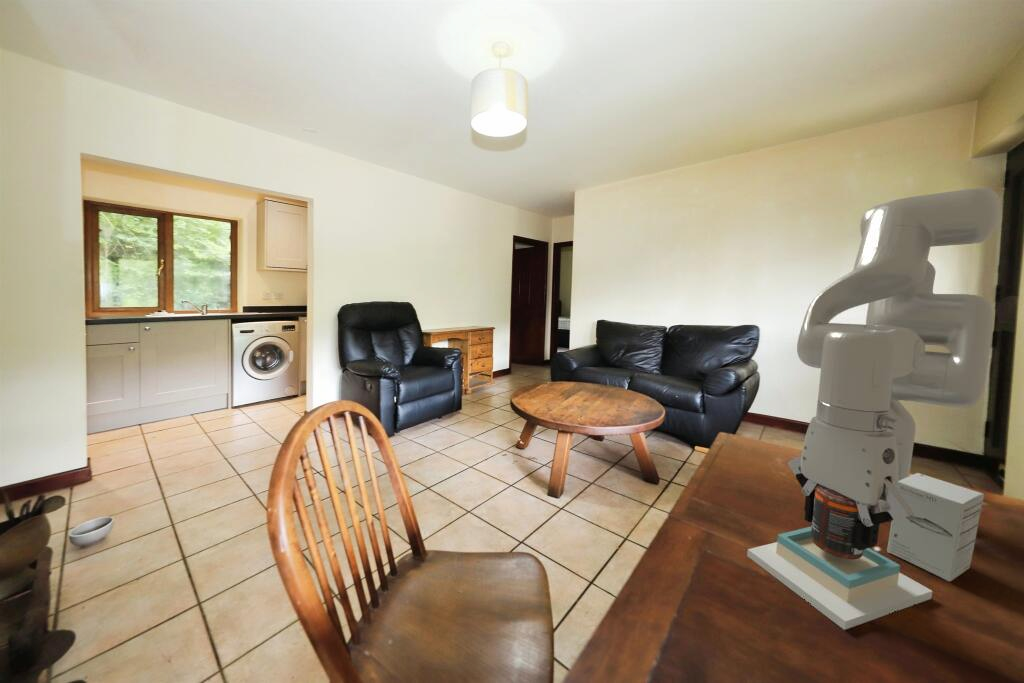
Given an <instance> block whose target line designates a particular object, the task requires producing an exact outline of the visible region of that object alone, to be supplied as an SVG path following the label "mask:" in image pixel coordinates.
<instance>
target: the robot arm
mask: <svg viewBox="0 0 1024 683" xmlns="http://www.w3.org/2000/svg"><path fill="white" fill-rule="evenodd" d="M1001 206H1002V205H1001V199H1000V196H999V194H998V192H997V191H995V189H993V188H987V187H985V188H984V187H981V188H979V187H978V188H977V187H976V188H966V189H960V190H959V189H958V190H953V191H947V192H946V191H945V192H938V193H931V194H924V195H923V194H922V195H916V196H907V197H903V198H898V199H895V200H891V201H888V202H885V203H880V204H878V205H875V206H873V207H871V208H869V209H867V211H865V212H864V214H863V215H862V217H861V220H860V226H859V227H860V238H861V241H860V244H859V248H858V251H857V255H856V258H855V261H854V262H855V263H854V266H853V269H852V271H850V272H848V273H846V274H845V275H843V276H841V277H839V278H838V279H836V280H835V281H833V282H832V283H831V284H830V285H828V286H827V287H825V288H824V289H823V290H821V291H820V293H818V294H817V295H816V297H814V299H813V300H812V301H811V303H810V304H809V305H808V308H807V310H806V312H805V315H804V319H803V321H802V325H801V327H800V330H799V334H798V339H797V344H796V353H797V356H798V358H799V360H800V361H801V362H802V364H805V365H806V366H808V367H811V368H815V369H820V375H819V384H818V385H819V386H818V393H817V394H818V396H817V401H816V402H817V404H816V414H815V416H813V417H811V420H810V422H809V424H808V427H807V430H806V433H805V436H804V441H803V445H802V449H801V455H799V456H797V457H794V458H793V459H791V460H789V461H788V463H787V465H788V467H789V468H790V469H791V472H793V474H794V475H795V478H796V480H797V482H798V483H799V485H800V487H801V493H802V494H803V495H804V496H805V501H804V508H803V509H804V521H806V522H808V523H812V520H813V508H814V499H815V490H816V487H817V485H821V486H824V487H826V488H829V489H831V490H834V491H836V492H838V493H840V494H842V495H844V496H846V497H847V498H850V499H852V500H854V501H856V504H857V508H858V511H859V514H860V517H861V521H858V522H856V526H855V534H854V543H853V546H854V548H856V549H857V550H859V551H860V550H864V549H867V548H870V549H871V548H873V547H875V546H877V544H878V539H879V531H880V525H881V524H884V523H888V522H892V521H893V520H898V519H902V518H906V517H910V516H913V515H914V512H913V511H912V509H911V508H910V507H909V505H908V504H907V503H906V501H905V500H904V499H903V498H902V496H901V495H900V494H899V492H898V481H900V480H902V479H904V478H907V477H909V476H910V473H911V472H910V471H911V466H912V459H913V452H914V446H915V445H914V444H915V436H916V428H917V426H916V422H915V420H914V417H913V416H912V415H911V414H910V412H909V411H908V410H907V408H906V407H905V406H904V405H903V404H902V403H901V401H905V402H908V401H909V402H915V403H923V404H928V405H935V406H943V407H950V408H958V409H959V408H962V409H966V408H972V407H973V406H976V405H977V404H978V403H979V402H980V400H981V399H982V397H983V395H984V391H985V386H986V382H987V374H988V365H989V359H990V351H991V343H992V336H993V330H994V328H993V327H994V311H993V307H992V305H991V303H990V302H989V301H988V299H986V298H985V297H982V296H980V295H976V294H969V293H965V294H964V293H934V285H935V278H936V268H935V267H934V265H933V264H932V263H931V262H930V261H929V255H930V250H931V248H932V247H933V248H934V247H945V246H946V247H947V246H961V245H963V246H964V245H974V244H981V243H983V242H985V241H987V240H988V239H989V238H990V237H991V236H992V234H993V233H994V231H995V230H996V228H997V226H998V222H999V218H1000V215H1001V208H1002V207H1001ZM866 304H867V306H868V307H867V311H866V319H865V320H866V321H865V324H863V323H862V324H857V323H839V322H838V323H836V322H831V321H832V320H833V319H834V318H835V317H836V316H838V315H839V314H842V313H843V312H846V311H849V310H850V309H853V308H857V307H860V306H862V305H866ZM926 345H927V346H937V347H943V348H945V349H946V350H948V351H949V352H941V351H929V350H928V351H926Z"/></svg>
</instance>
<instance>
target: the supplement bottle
mask: <svg viewBox="0 0 1024 683" xmlns="http://www.w3.org/2000/svg"><path fill="white" fill-rule="evenodd" d="M858 521H861V517H860V514H859V511H858V508H857V504H856V501H854V500H852V499H850V498H847V497H846V496H844V495H842V494H840V493H838V492H836V491H834V490H831V489H829V488H826V487H824V486H821V485H817V487H816V490H815V499H814V508H813V520H812V522H811V526H812V530H811V539H812V541H813V543H814V544H815V545H816V546H818V547H819V548H820V549H821V550H823V551H825V552H827V553H828V554H831V555H834V556H837V557H840V558H844V559H858V558H860V557H862V555H863V551H864V550H860V551H859V550H857V549H856V548H854V546H853V543H854V534H855V526H856V522H858Z"/></svg>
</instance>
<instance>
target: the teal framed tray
mask: <svg viewBox="0 0 1024 683" xmlns="http://www.w3.org/2000/svg"><path fill="white" fill-rule="evenodd" d="M811 530H812V525H811V526H807V527H803V528H799V529H795V530H791V531H788V532H783V533H779V534H777V538H776V539H777V540H776V542H773V543H768V544H763V545H760V546H756V547H752V548H748V549H747V554H746V555H747V557H748V558H749V559H750V560H752V561H753V562H754V563H755V564H757V565H759V567H761V568H762V569H764V570H765V571H766V572H768V573H769V574H770V575H772V576H773V577H774V578H775V579H777V580H778V581H780V582H781V583H782V584H783V585H785V587H787V588H788V589H790V590H791V591H793V592H794V593H795V594H796V595H798V596H799V597H801V599H803V600H804V599H805V600H804V601H806V602H807V603H808V602H809V603H808V604H810V603H811V604H810V605H811V606H812V607H813V608H814V609H816V610H817V611H818V612H820V613H821V614H822V615H824V616H826V617H827V618H828V619H829V620H831V621H832V622H833V623H834V624H836V625H837V626H839V628H841V629H842V630H843V631H845V630H848V629H850V628H854V627H856V626H859V625H862V624H864V623H867V622H871V621H873V620H876V619H878V618H879V619H880V618H881V617H884V616H888V615H890V614H892V612H893V613H895V612H894V611H896V612H898V611H900V610H901V611H902V610H904V609H906V608H909V607H912V606H915V605H918V604H920V603H923V602H926V601H929V600H931V599H932V596H933V590H932V589H930V588H928V587H926V586H924V585H922V584H921V583H919V582H918V581H915V580H914V579H912V578H911V577H908V576H907V575H906V574H903V573H902V572H900V569H901V564H899V563H897V562H895V561H893V560H891V559H890V558H888V557H886V556H885V555H882V554H880V553H879V552H876V551H875V550H873V549H871V548H867V549H864V551H863V555H862V557H860V558H858V559H844V558H840V557H837V556H834V555H831V554H828V553H827V552H825V551H823V550H821V549H820V548H819V547H818V546H816V545H815V544H814V543H813V541H812V539H811ZM914 604H915V605H914ZM897 610H898V611H897ZM889 613H890V614H889Z"/></svg>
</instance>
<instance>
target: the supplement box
mask: <svg viewBox="0 0 1024 683" xmlns="http://www.w3.org/2000/svg"><path fill="white" fill-rule="evenodd" d="M898 492H899V494H900V495H901V496H902V498H903V499H904V500H905V501H906V503H907V504H908V505H909V507H910V508H911V509H912V511H913V512H914V515H913V516H910V517H906V518H902V519H898V520H893V521H890V522H891V524H890V528H889V529H890V530H889V534H888V535H889V536H888V543H887V549H886V551H887V553H888V554H891V555H893V556H896V557H898V558H900V559H902V560H905V561H906V562H908V563H911V564H912V565H914V566H917V567H919V568H921V569H924V570H925V571H927V572H929V573H932V574H933V575H935V576H938V577H939V578H941V579H943V580H945V581H946V582H949V583H950V582H952V581H954V580H956V578H958V577H959V576H960V575H962V574H963V573H965V572H966V571H967V570H969V569H970V567H971V565H972V564H971V563H972V558H973V553H974V549H975V545H976V538H977V534H978V528H979V521H980V516H981V511H982V506H983V502H984V498H985V493H982V492H980V491H977V490H974V489H969V488H967V487H963V486H960V485H956V484H954V483H951V482H947V481H944V480H941V479H939V478H935V477H932V476H928V475H926V474H923V473H919V472H916V473H914V474H912V475H909V477H907V478H904V479H902V480H900V481H898Z"/></svg>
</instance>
